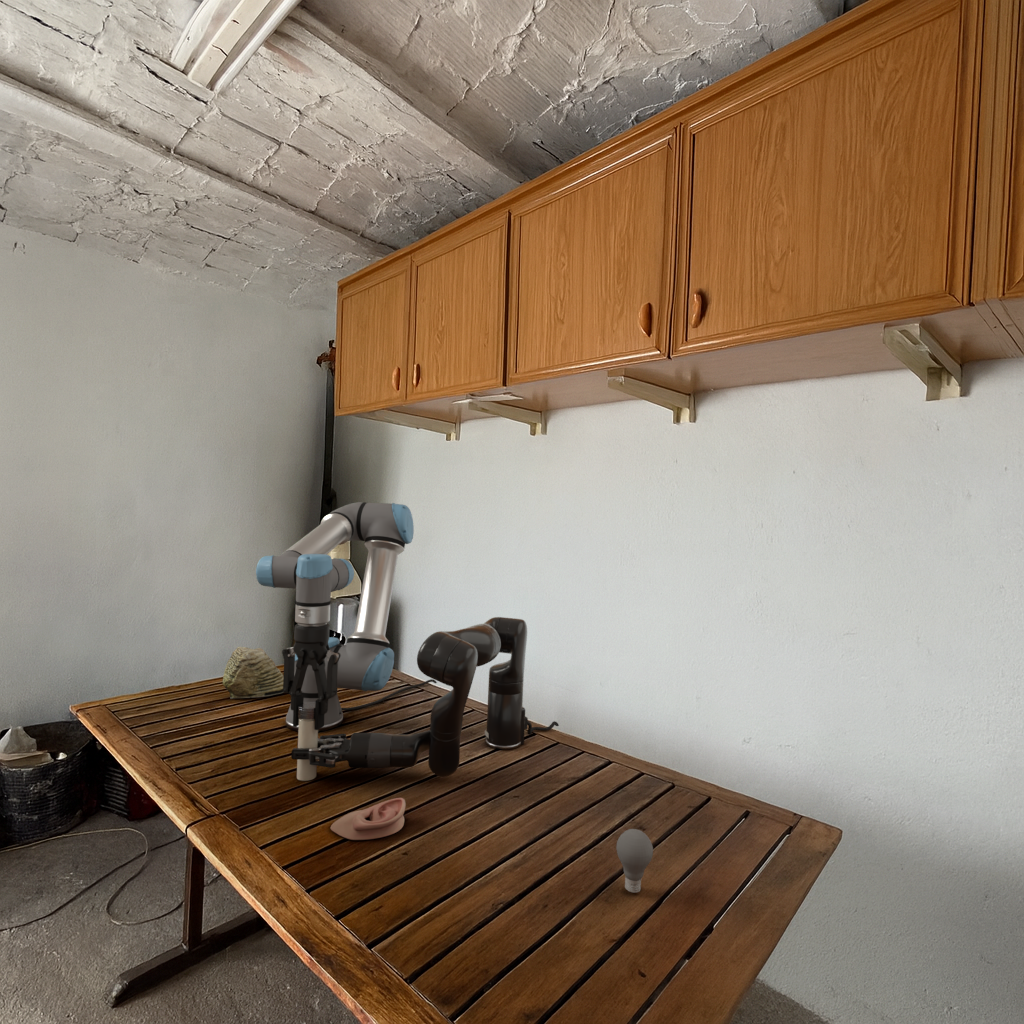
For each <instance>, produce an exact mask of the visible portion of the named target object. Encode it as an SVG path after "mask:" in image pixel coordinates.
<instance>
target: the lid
mask: <svg viewBox="0 0 1024 1024" xmlns="http://www.w3.org/2000/svg"><path fill="white" fill-rule="evenodd" d="M298 718H300V719H305V720H308V719H315V702H305V703H301V704H299V705H298Z"/></svg>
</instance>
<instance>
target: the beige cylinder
mask: <svg viewBox="0 0 1024 1024" xmlns="http://www.w3.org/2000/svg"><path fill="white" fill-rule="evenodd" d="M314 729H315V719H308V720H305V719H300V718H299V726H298V731H297V744H298V748H310V749H311V748H318V738H319V731H318V730H314ZM317 772H318V766H316V765H310V761H309V759H296V779H297V780H298V781H301V782H307V781H312V780H314V779H317Z"/></svg>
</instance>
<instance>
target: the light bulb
mask: <svg viewBox="0 0 1024 1024" xmlns="http://www.w3.org/2000/svg"><path fill="white" fill-rule="evenodd" d="M615 849H616V854H617V857H618V859H619V861H620V863H621V865H622V867H623V873H624V874H623V875H624V876H625V878H624V888H625V890H627V891H628V892H630V893H634V894H635V893H639V892H640V891H641V889H642V887H641V886H642V879H643V877H644V875H645V871H646V868H647V867H648V866H649V864H650V863H651V861H652V859H653V855H654V847H653V843H652V841H651V838H649V836H648V835H647V834H646V833H645V832H643V831H642V830H641V829H636V828H629V829H627V830H625V831H623V832H622V833H621V834H620V835H619V837H618V839H617V841H616V847H615Z"/></svg>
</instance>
